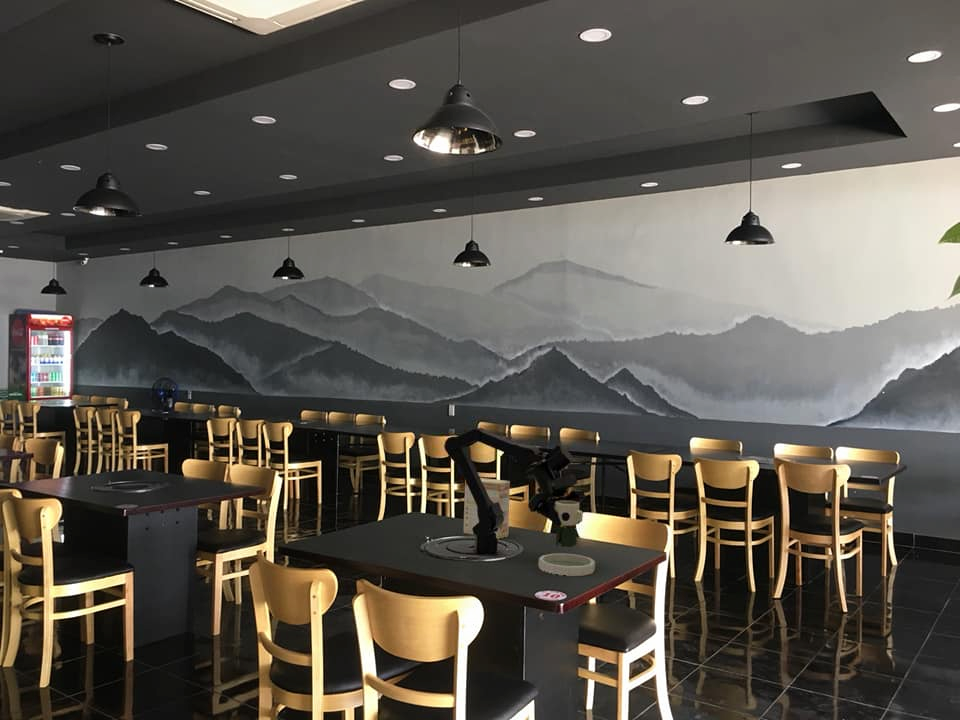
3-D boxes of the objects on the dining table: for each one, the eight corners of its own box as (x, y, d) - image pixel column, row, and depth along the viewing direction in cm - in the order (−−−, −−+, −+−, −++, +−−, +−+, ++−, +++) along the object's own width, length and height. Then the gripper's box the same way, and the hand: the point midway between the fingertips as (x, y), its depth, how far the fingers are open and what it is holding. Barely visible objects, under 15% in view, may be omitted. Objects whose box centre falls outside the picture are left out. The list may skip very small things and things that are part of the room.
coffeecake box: (508, 536, 264) (510, 480, 265) (497, 539, 259) (499, 482, 259) (474, 530, 273) (476, 476, 273) (462, 533, 267) (464, 478, 268)
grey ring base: (548, 576, 213) (549, 567, 213) (533, 562, 229) (533, 554, 229) (602, 575, 217) (602, 566, 217) (583, 561, 232) (583, 553, 232)
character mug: (543, 544, 224) (545, 500, 224) (558, 541, 229) (559, 498, 229) (573, 551, 216) (575, 506, 216) (588, 547, 221) (589, 503, 222)
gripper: (535, 466, 221) (559, 510, 212) (582, 463, 232) (607, 505, 222) (518, 489, 227) (540, 533, 218) (564, 485, 238) (587, 527, 229)
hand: (569, 524), depth 222 cm, fingers closed on character mug, 7 cm apart
